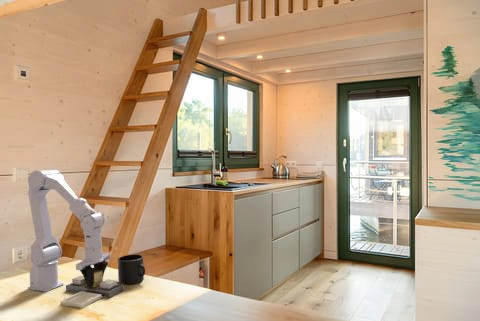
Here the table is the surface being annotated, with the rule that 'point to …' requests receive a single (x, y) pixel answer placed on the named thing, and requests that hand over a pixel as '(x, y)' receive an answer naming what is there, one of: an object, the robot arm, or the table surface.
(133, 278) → the mug
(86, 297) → the parts tray
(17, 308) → the table surface
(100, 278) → the wooden block
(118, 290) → the rail
